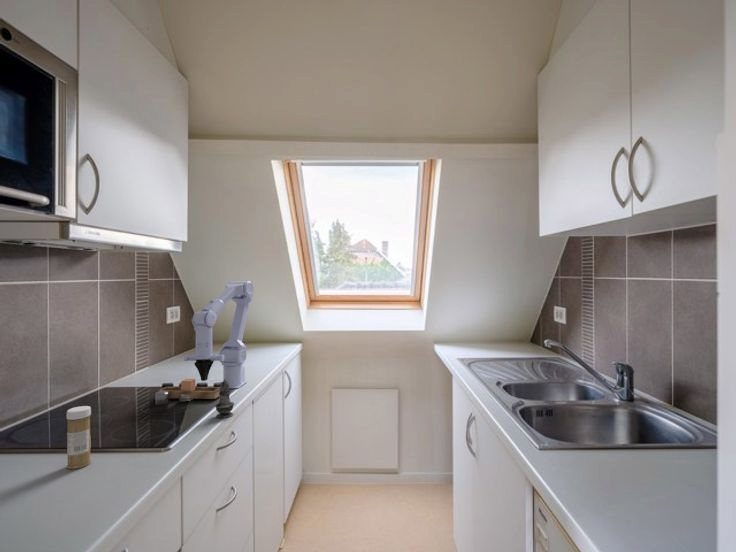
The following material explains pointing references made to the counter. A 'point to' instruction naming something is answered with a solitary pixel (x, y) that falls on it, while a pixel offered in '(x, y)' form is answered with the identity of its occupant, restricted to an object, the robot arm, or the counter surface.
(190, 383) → the orange block
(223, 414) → the dark grey turned ornament
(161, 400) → the weight
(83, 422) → the sprinkles bottle
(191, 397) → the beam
